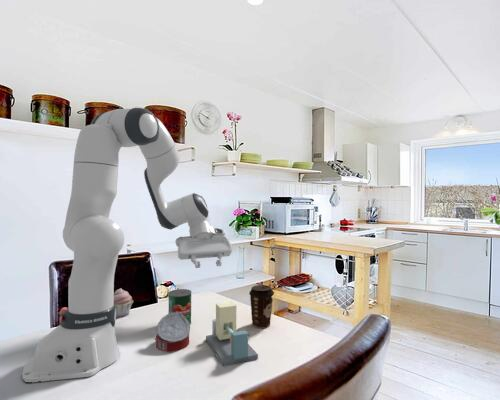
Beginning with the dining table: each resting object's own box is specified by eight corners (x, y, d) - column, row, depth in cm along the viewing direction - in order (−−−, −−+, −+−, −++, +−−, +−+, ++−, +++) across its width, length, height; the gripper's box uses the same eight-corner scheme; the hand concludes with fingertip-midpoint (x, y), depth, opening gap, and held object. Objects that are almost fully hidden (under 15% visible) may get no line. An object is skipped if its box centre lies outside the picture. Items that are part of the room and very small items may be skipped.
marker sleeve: (219, 340, 95) (219, 307, 95) (215, 334, 99) (215, 303, 98) (236, 337, 97) (236, 305, 97) (231, 332, 101) (231, 301, 101)
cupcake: (132, 317, 118) (132, 290, 117) (104, 320, 115) (104, 292, 115) (134, 309, 127) (134, 284, 126) (109, 311, 124) (109, 285, 124)
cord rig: (223, 366, 84) (223, 337, 84) (205, 339, 100) (206, 315, 100) (257, 358, 88) (258, 331, 88) (236, 334, 104) (236, 311, 104)
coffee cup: (274, 320, 116) (274, 284, 115) (273, 330, 107) (274, 291, 107) (250, 319, 116) (250, 284, 116) (247, 329, 108) (248, 290, 108)
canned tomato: (180, 329, 107) (180, 297, 107) (163, 324, 111) (163, 293, 111) (196, 322, 114) (196, 291, 114) (179, 317, 118) (179, 287, 118)
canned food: (187, 354, 100) (202, 326, 100) (171, 366, 91) (188, 336, 90) (160, 332, 104) (174, 306, 103) (141, 342, 94) (157, 313, 94)
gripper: (175, 231, 118) (180, 263, 109) (228, 229, 126) (237, 259, 117) (173, 242, 122) (178, 273, 113) (224, 239, 130) (233, 268, 121)
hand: (208, 266), depth 115 cm, fingers open, 6 cm apart
